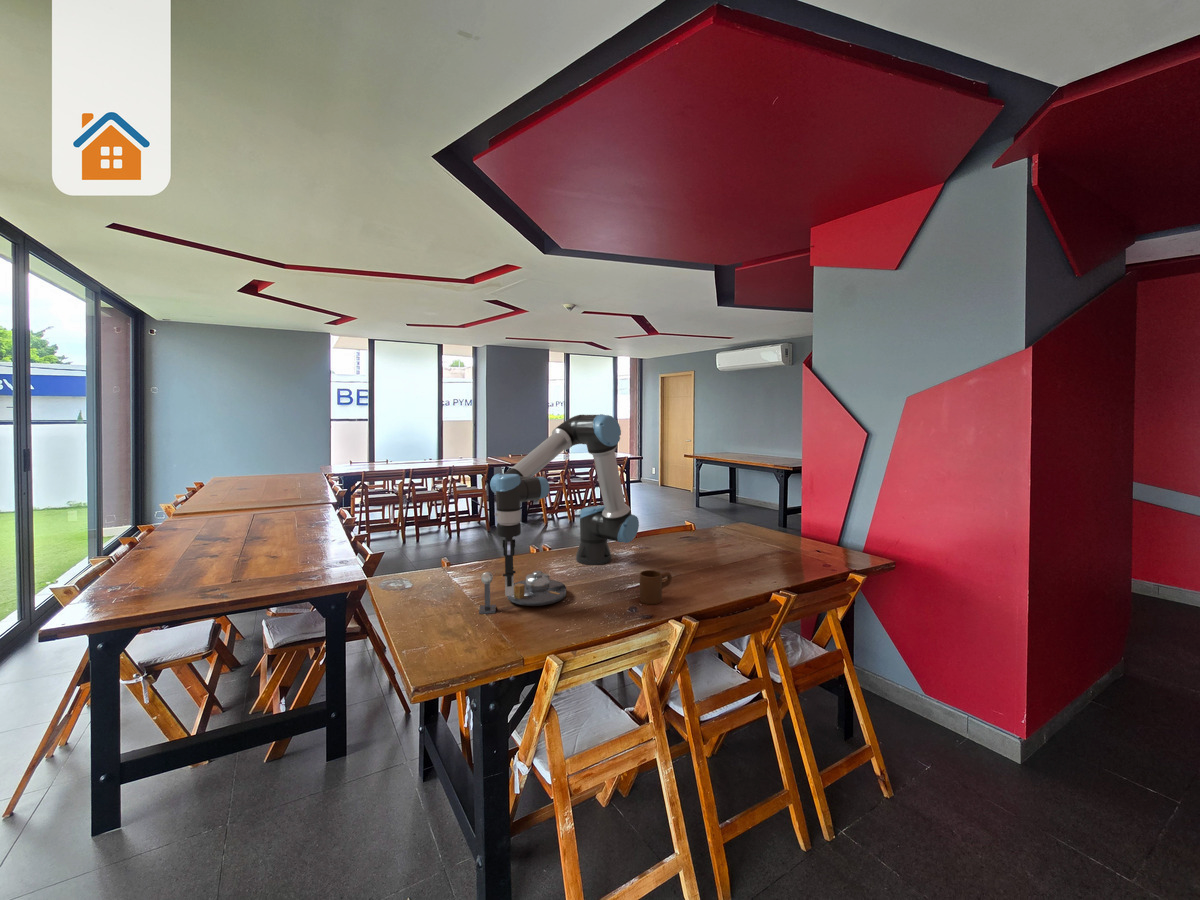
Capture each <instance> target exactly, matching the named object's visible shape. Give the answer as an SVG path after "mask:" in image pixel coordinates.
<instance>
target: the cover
mask: <svg viewBox="0 0 1200 900" xmlns="http://www.w3.org/2000/svg"><path fill="white" fill-rule="evenodd" d="M549 579H550V575H549V574H548V573H545V572H543V571H542V570H534V571H533V572H532V573H528V574H527V575H525V580H526V590H528V591H531V592H542V591H546V590H548V589H549Z"/></svg>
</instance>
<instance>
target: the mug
mask: <svg viewBox="0 0 1200 900" xmlns="http://www.w3.org/2000/svg"><path fill="white" fill-rule="evenodd" d="M664 578H666V580H665V581H663V579H664ZM672 578H673V577H672V574H671V572H669V571H664V572H662V573H661V572H660V571H658V570H651V569H650V570H649V569H648V570H642V571H641V572H640V573H639V584H638V585H639V586H638V587H639V601H640V602H641V603H642V604H644V605H658V604H660V603H661V602H662V600H663V589H664V588H666V587H668V586H669V585H670V584H671V583H672V580H673V579H672Z"/></svg>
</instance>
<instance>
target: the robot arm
mask: <svg viewBox="0 0 1200 900" xmlns="http://www.w3.org/2000/svg"><path fill="white" fill-rule="evenodd" d="M621 435H622V430H621V426H620V423H619V422H618V420H617V419H616V418H615V417H613V416H611V415H610V414H602V413H601V414H578V415H574V416H572V417H569V418H568V419H566V420H565V421H563V422H562V423H560V424H559V425H558V426H557V427H555V428H553V430H552V432H551V434H550V436H548V437H547V438H546V439H545V440H544V441H542V442H541V443H540V444H539V445H538V446H536V447H535V448H534V449H532V450H531V451H530V452H529V453H528V454H527V455H525V456H524V457H523V458H522V459H521V460H519V461H518V462H517V463H515V464H514V465H513V466H512V467H511V468H509V469H508V470H507V471H506V472H504V473H503V472H502V473H501V472H500V473H496V474H494V475H493V476H492V478H491V480H490V482H489V486H490V489H491V491H492V493H494V494H495V498H496V501H495V503H496V512H494V516H495V517H496V522H497V524H496V536H498V537H501V538H504V539H502V548H503V549H502V550H503V556H504V573H503V574H502V578H503V577H504V596H505V597H507V596H512V595H514V583H515V582H514V581H515V580H514V579H515V578H514V577H515V576H514V575H515V574H516V570H514V569H515V568H514V556H515V548H516V539H513V538H514V537H518V536H520V535H521V533H522V532H521V531H522V528H521V527H522V525H521V523H520V522H521V519H522V518H521V517H522V510H521V508H522V507H521V505H522V504H521V503H525V502H530V501H537V500H540V499H545V498H546V497H547V496H548V495H549V493H550V483H549V481H548V479H546V477H544V476H535V475H537V474H538V473H539V472H540V471H541V470H543V469H544V468H545V467H546V466H547V465H548V464H549V463H551V462H552V461H553V460H554V459H555V458H556V457H558V456H559V455H560V454H561V453H562V452H564V451H565V450H569V449H571V448H572V447H573V446H576V445H586V449H587V452H588V454H590V455H592V457H593V461H594V466H595V471H596V474H597V475H596V476H597V479H598V485H599V490H600V493H601V498H602V503H603V505H594V506H593V505H591V506H587V507H586V506H585V507H583V508H582V509H580V515H579V531H580V534H579V535H580V537H579V545H578V548H577V551H576V554H575V559H576V562H577V563H580V564H583V565H588V566H591V565H593V566H595V565H596V566H597V565H604V564H607V563H610V562H611V561H612V553H611V549H610V546H609V544H608V540H609V541H615V542H618V543H625V544H628V543H630V542H632V541H633V540H634V539H635V538H636V536H637V533H638V532H639V527H640V522H639V521H640V520H639V518H638V516H636V515H635V514H632V513H631V512H632V511H631V508H630V506H629V505H627V504H626V501H625V500H626V499H625V497H624V491H623V485H622V481H621V476H620V472H619V466H618V463H617V462H618V461H617V458H616V452H615V451H616V449H617V448H618V444H619V442H620V440H621Z"/></svg>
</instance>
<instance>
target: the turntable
mask: <svg viewBox="0 0 1200 900" xmlns="http://www.w3.org/2000/svg"><path fill="white" fill-rule="evenodd" d="M566 596H567V586H566V585H565V584H564V583H563V582H561V581H559V580H555V579H550V578H549V589H548V590H546V591H542V592H531V591H528V590H526V579H524V580H520V581H517V582H514V595H512V596H506V598H507V600H508V601H509V602H511V603H513V604H515V605H520V606H527V607H538V606H539V607H540V606H546V605H551V604H555V603H558V602H561V600H563V599H564V598H565V597H566Z"/></svg>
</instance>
